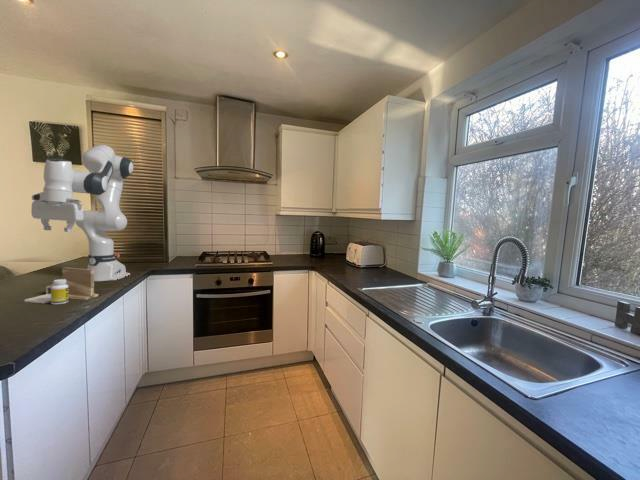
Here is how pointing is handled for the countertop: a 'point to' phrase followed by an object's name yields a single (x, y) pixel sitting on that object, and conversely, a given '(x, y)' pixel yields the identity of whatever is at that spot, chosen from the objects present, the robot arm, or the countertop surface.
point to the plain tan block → (48, 289)
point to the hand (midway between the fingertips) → (57, 231)
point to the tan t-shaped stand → (79, 282)
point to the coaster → (40, 299)
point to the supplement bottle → (59, 292)
